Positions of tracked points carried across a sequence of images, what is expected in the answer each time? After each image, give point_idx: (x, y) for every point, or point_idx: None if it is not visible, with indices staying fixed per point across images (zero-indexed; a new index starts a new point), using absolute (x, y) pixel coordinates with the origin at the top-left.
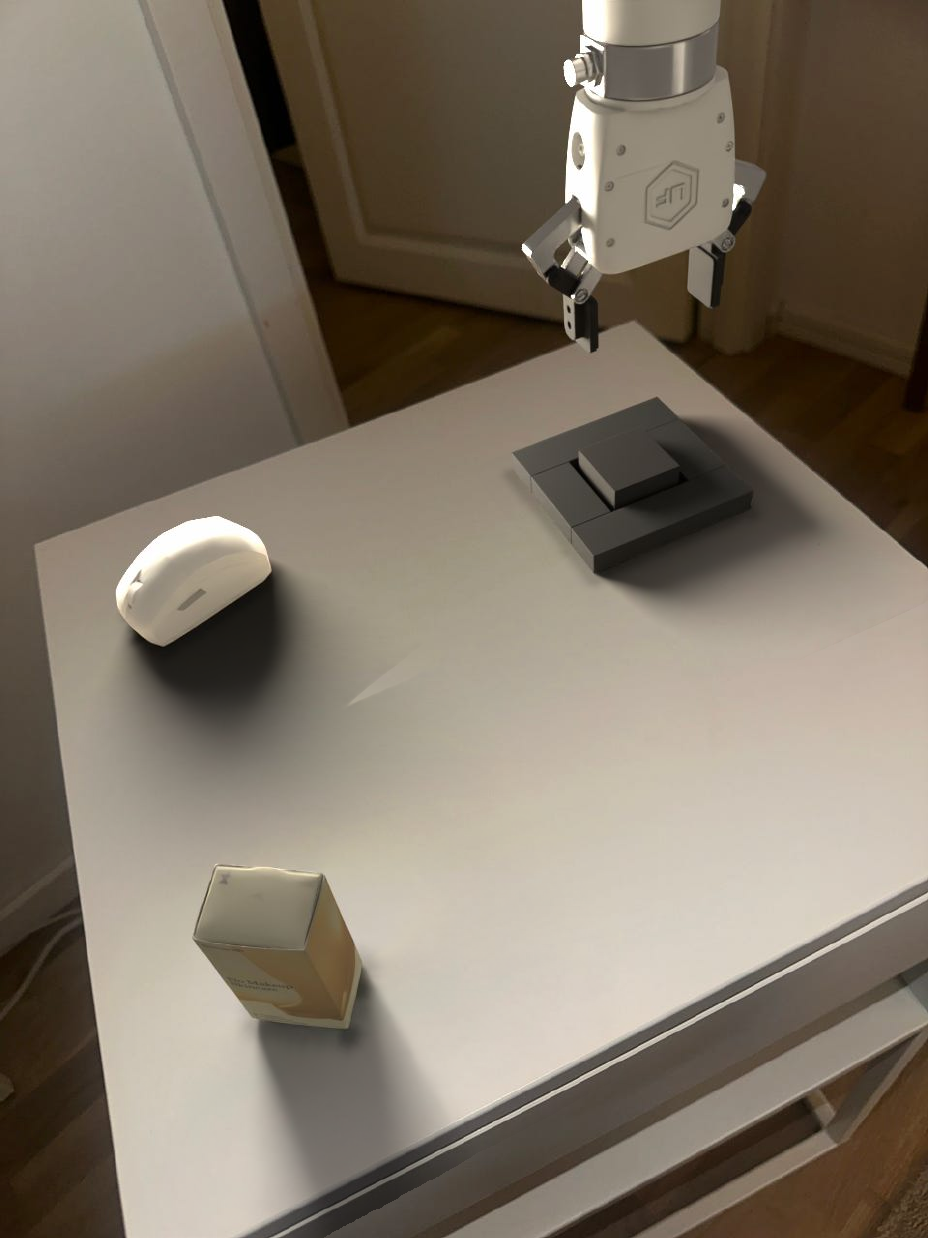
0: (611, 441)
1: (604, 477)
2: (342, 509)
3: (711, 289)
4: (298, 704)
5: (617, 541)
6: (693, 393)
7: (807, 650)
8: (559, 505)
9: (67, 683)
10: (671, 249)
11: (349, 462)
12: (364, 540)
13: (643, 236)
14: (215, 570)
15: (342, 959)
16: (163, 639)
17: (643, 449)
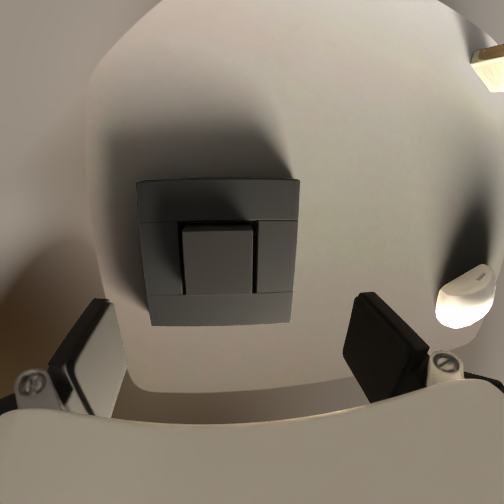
0: (220, 290)
1: (251, 251)
2: None
3: (99, 322)
4: (465, 192)
5: (273, 184)
6: (120, 321)
7: (198, 41)
8: (291, 249)
9: (501, 263)
10: (259, 443)
11: None
12: (397, 292)
13: (439, 489)
14: (475, 287)
15: (493, 52)
16: (484, 265)
17: (200, 267)
